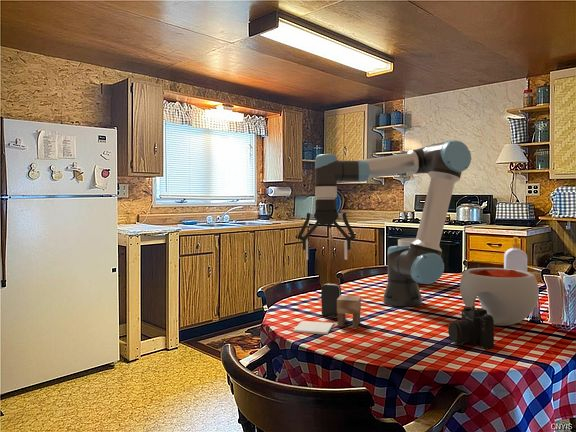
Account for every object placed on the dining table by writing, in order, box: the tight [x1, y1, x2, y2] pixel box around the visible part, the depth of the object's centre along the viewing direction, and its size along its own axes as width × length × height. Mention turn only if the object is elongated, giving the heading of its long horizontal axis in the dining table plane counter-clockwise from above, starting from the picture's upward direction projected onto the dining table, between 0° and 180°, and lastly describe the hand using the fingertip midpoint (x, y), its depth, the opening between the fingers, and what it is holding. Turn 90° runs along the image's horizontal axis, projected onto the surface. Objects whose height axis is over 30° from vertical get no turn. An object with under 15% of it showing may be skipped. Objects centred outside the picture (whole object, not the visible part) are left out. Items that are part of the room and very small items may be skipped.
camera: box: [447, 306, 495, 350], centre depth 134 cm, size 14×11×10 cm
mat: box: [292, 320, 335, 335], centre depth 150 cm, size 11×11×1 cm
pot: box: [459, 267, 540, 327], centre depth 154 cm, size 24×24×18 cm
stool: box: [337, 294, 362, 329], centre depth 153 cm, size 7×7×9 cm
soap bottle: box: [503, 236, 528, 272], centre depth 216 cm, size 9×7×23 cm
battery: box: [320, 282, 342, 317], centre depth 166 cm, size 7×4×11 cm, turn 65°
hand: (326, 259), depth 161 cm, fingers open, 13 cm apart
